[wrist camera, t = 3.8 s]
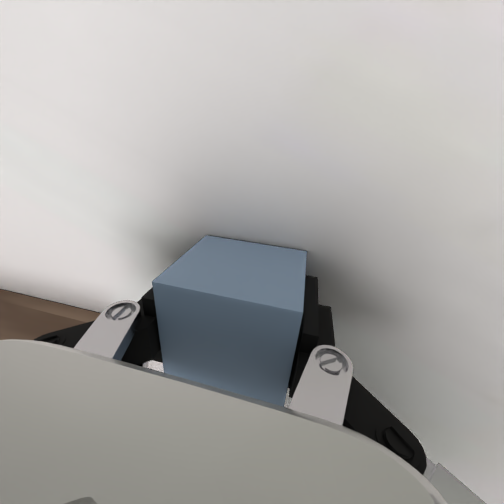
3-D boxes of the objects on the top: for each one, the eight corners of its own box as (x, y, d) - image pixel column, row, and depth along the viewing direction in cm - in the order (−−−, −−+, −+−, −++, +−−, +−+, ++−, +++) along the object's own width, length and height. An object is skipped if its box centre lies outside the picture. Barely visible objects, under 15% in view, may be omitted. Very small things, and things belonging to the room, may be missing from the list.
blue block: (291, 332, 13) (282, 414, 9) (207, 313, 14) (165, 381, 10) (306, 251, 11) (302, 312, 7) (206, 235, 12) (152, 281, 8)
